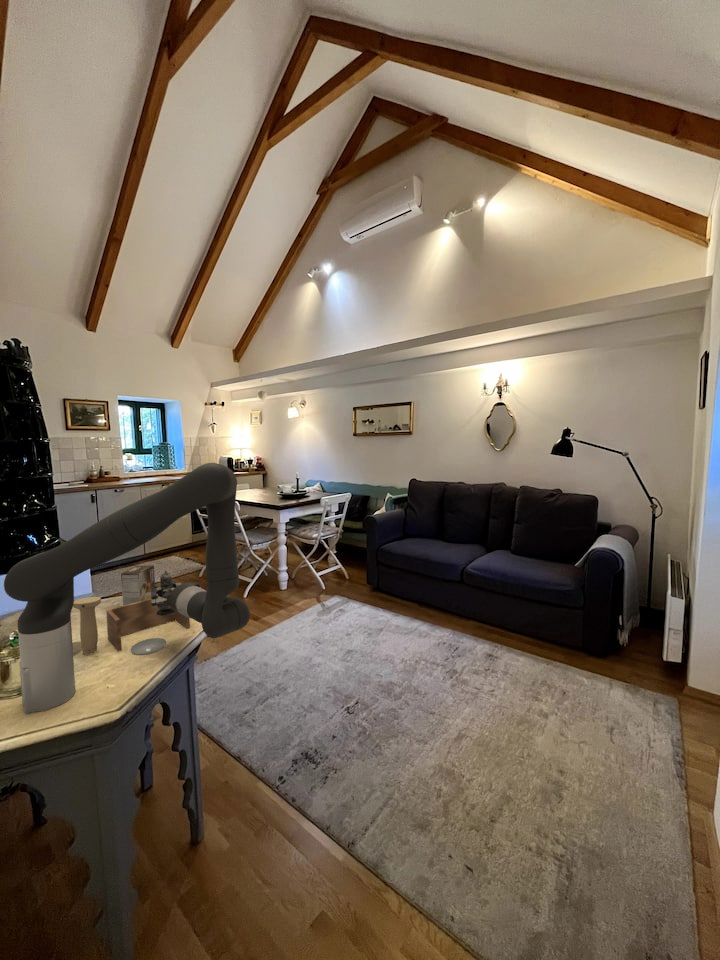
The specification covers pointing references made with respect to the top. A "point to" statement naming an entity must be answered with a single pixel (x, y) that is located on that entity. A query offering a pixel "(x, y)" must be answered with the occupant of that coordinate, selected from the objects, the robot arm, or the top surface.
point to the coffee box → (137, 584)
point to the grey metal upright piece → (164, 607)
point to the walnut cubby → (137, 620)
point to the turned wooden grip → (88, 623)
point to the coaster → (148, 646)
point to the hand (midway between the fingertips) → (161, 586)
